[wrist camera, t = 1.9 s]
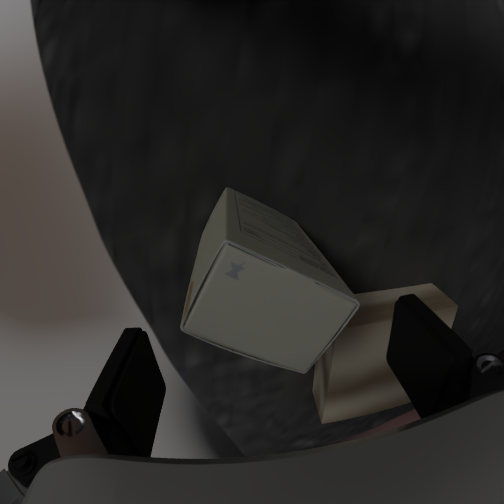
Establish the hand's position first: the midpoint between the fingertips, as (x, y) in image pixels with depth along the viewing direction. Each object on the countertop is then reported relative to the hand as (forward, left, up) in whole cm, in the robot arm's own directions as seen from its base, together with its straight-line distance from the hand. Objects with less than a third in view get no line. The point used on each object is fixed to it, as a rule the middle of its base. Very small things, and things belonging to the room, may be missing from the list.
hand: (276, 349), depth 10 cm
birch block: (+12, +11, -14) cm, 21 cm away
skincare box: (-1, 0, -14) cm, 14 cm away
